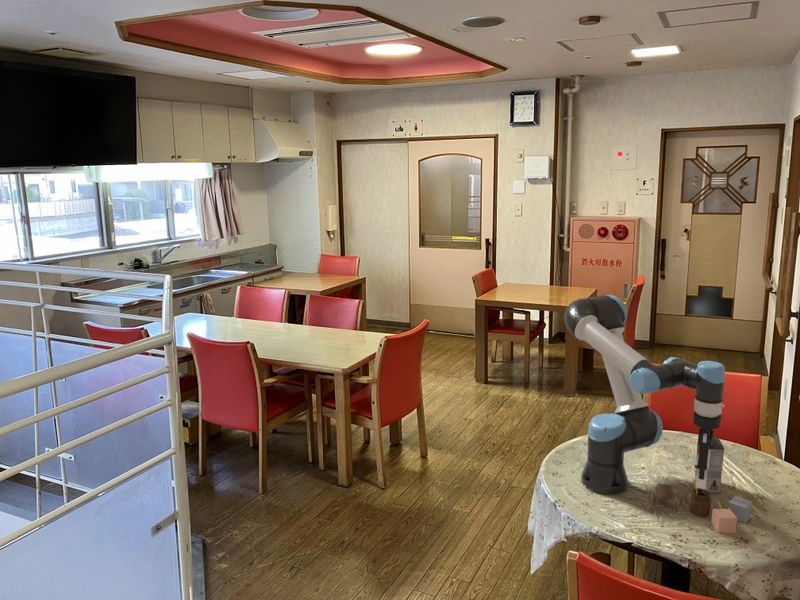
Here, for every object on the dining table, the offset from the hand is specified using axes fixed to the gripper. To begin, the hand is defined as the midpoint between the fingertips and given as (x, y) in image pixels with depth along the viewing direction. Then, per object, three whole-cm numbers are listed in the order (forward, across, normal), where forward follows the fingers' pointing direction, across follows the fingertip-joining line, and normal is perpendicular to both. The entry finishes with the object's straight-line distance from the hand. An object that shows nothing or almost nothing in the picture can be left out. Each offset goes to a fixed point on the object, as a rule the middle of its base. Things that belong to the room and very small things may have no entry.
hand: (702, 477), depth 202 cm
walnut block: (+12, +2, +10) cm, 16 cm away
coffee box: (+12, +19, -1) cm, 23 cm away
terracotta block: (+12, -6, -7) cm, 15 cm away
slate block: (+12, +3, -11) cm, 17 cm away
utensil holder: (+12, 0, 0) cm, 12 cm away
